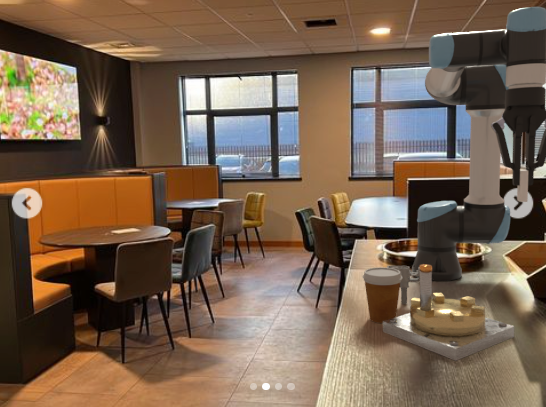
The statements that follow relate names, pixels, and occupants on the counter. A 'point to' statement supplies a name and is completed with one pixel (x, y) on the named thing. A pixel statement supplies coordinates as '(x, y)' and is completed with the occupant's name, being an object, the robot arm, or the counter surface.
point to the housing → (449, 337)
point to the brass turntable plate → (444, 311)
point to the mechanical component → (406, 279)
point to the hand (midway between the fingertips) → (522, 200)
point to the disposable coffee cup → (382, 292)
